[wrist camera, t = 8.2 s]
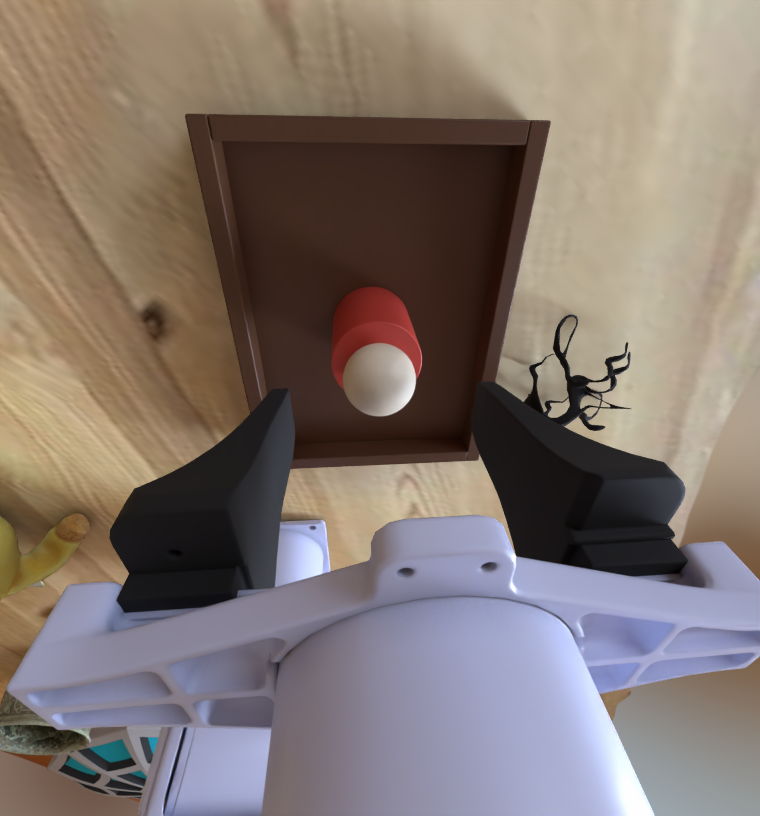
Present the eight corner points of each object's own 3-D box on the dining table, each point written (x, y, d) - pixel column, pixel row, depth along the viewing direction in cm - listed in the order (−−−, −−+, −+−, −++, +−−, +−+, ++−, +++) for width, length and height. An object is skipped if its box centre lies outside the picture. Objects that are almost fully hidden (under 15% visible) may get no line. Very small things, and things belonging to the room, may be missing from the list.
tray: (267, 447, 26) (262, 470, 24) (200, 115, 16) (183, 113, 14) (469, 439, 27) (478, 460, 25) (530, 121, 17) (551, 120, 15)
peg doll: (335, 358, 22) (332, 442, 16) (330, 286, 20) (325, 355, 14) (406, 356, 22) (429, 438, 16) (410, 285, 20) (439, 352, 14)
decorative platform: (211, 685, 46) (198, 739, 42) (321, 749, 62) (319, 793, 58) (2, 740, 50) (-28, 793, 46) (156, 786, 67) (144, 829, 63)
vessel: (90, 631, 37) (50, 711, 32) (153, 666, 42) (127, 741, 37) (-11, 661, 39) (-64, 742, 34) (61, 692, 44) (25, 766, 39)
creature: (591, 284, 22) (475, 367, 23) (677, 308, 18) (529, 410, 18) (619, 382, 26) (520, 450, 27) (694, 422, 22) (573, 502, 22)
